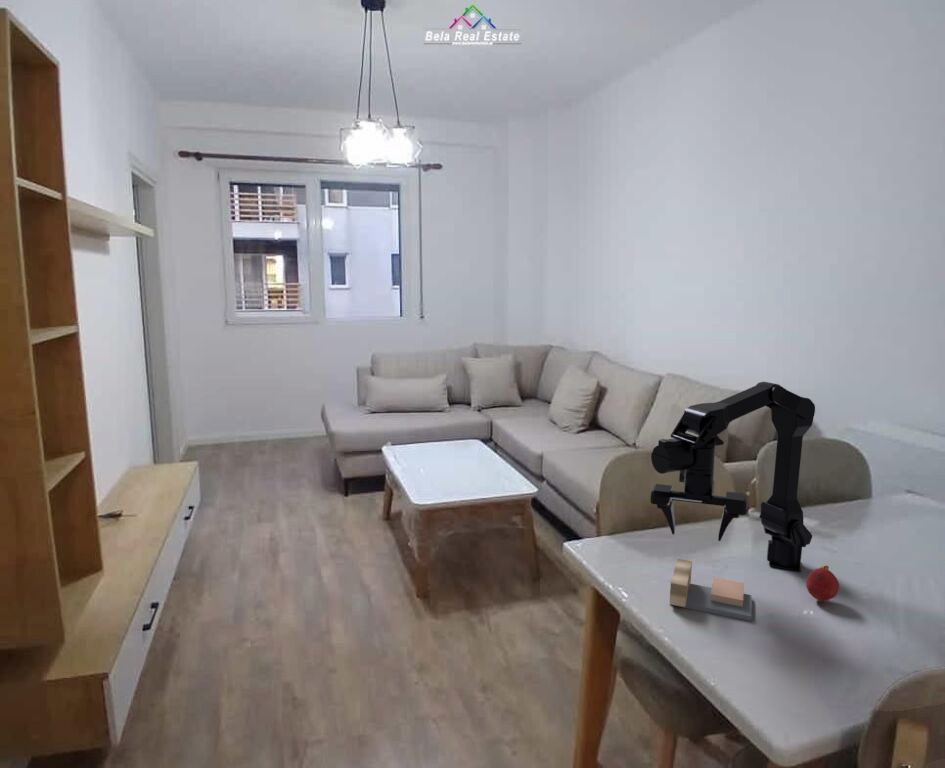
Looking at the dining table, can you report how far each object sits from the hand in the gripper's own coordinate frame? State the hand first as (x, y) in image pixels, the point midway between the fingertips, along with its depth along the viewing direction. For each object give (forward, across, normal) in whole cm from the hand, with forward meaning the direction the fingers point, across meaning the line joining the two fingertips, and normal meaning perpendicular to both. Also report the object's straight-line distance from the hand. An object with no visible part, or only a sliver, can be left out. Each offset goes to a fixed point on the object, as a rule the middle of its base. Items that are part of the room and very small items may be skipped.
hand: (696, 537), depth 134 cm
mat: (+11, -4, +7) cm, 13 cm away
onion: (+12, -24, -2) cm, 27 cm away
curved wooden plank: (+10, +2, +7) cm, 12 cm away
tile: (+9, -7, +1) cm, 11 cm away
